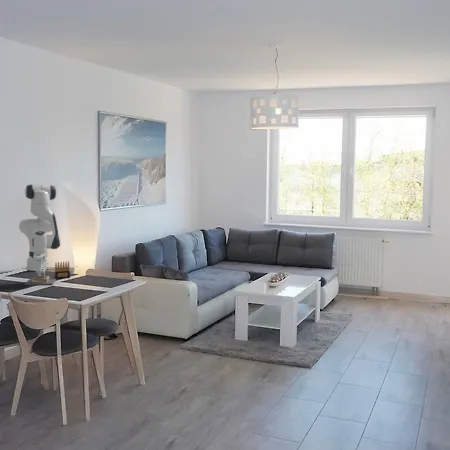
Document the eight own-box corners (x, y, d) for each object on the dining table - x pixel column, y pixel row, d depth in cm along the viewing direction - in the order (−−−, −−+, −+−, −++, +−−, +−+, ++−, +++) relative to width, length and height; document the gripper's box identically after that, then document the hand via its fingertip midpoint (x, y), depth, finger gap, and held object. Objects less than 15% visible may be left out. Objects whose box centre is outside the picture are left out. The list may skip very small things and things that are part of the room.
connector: (37, 278, 407) (37, 269, 406) (45, 278, 407) (45, 269, 407) (36, 279, 403) (36, 270, 402) (43, 279, 403) (43, 270, 403)
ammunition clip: (69, 277, 425) (69, 260, 424) (70, 277, 423) (70, 261, 422) (54, 278, 420) (54, 261, 418) (55, 279, 418) (55, 262, 417)
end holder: (30, 280, 412) (29, 275, 412) (56, 280, 414) (56, 275, 414) (24, 285, 396) (24, 279, 396) (52, 285, 398) (52, 279, 398)
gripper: (39, 252, 413) (39, 272, 415) (32, 257, 393) (32, 278, 395) (48, 252, 414) (48, 272, 415) (42, 257, 394) (42, 278, 395)
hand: (40, 275), depth 405 cm, fingers closed on connector, 4 cm apart
